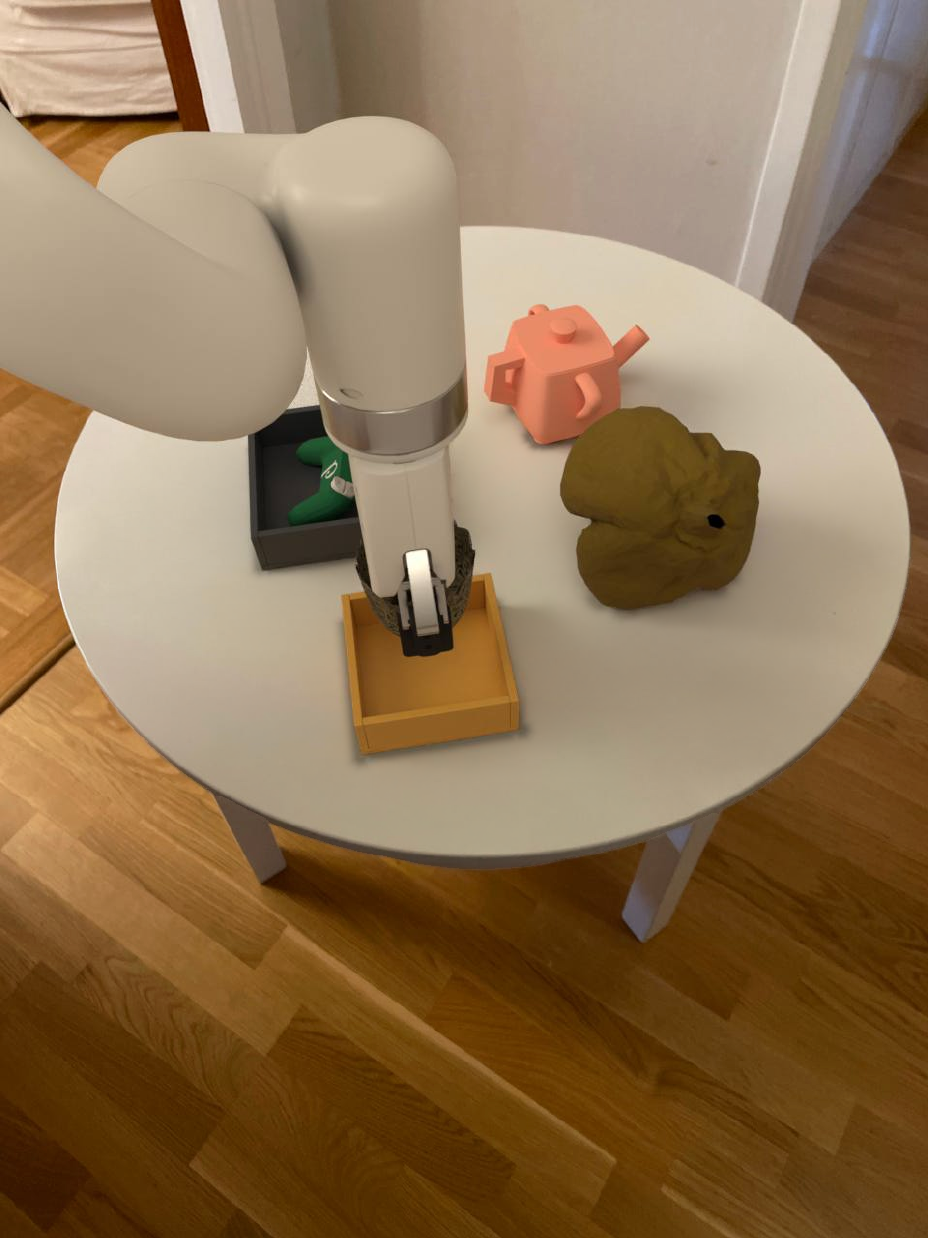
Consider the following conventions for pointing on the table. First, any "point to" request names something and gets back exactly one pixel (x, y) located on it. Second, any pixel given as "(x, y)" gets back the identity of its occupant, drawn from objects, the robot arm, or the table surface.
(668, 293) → the table surface
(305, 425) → the charcoal bin
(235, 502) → the table surface
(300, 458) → the gaming controller
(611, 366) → the teapot
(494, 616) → the ochre bin
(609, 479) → the olive-brown lumpy blob
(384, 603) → the cup
